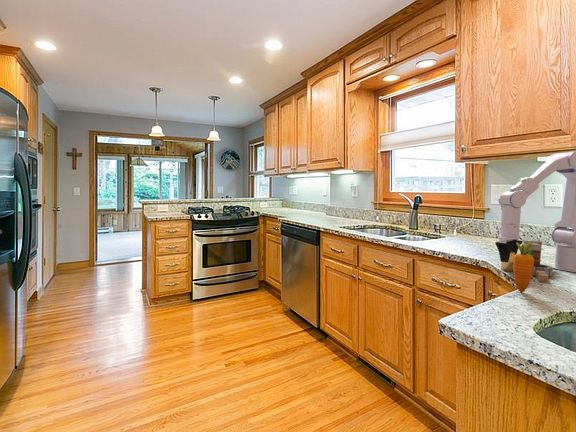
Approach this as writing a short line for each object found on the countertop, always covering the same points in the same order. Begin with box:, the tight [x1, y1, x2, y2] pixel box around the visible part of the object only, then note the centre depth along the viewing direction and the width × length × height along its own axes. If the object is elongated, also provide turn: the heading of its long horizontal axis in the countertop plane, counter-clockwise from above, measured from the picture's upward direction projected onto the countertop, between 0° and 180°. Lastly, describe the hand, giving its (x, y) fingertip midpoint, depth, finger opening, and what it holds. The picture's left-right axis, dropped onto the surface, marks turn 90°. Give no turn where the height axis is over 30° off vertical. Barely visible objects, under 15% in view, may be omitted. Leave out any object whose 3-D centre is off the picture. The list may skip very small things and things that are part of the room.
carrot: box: [512, 242, 534, 294], centre depth 95 cm, size 5×5×15 cm
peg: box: [500, 252, 515, 273], centre depth 121 cm, size 4×4×7 cm
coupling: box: [532, 263, 554, 284], centre depth 116 cm, size 15×16×3 cm
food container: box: [521, 240, 543, 264], centre depth 125 cm, size 12×6×10 cm, turn 141°
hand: (507, 260), depth 121 cm, fingers open, 7 cm apart
